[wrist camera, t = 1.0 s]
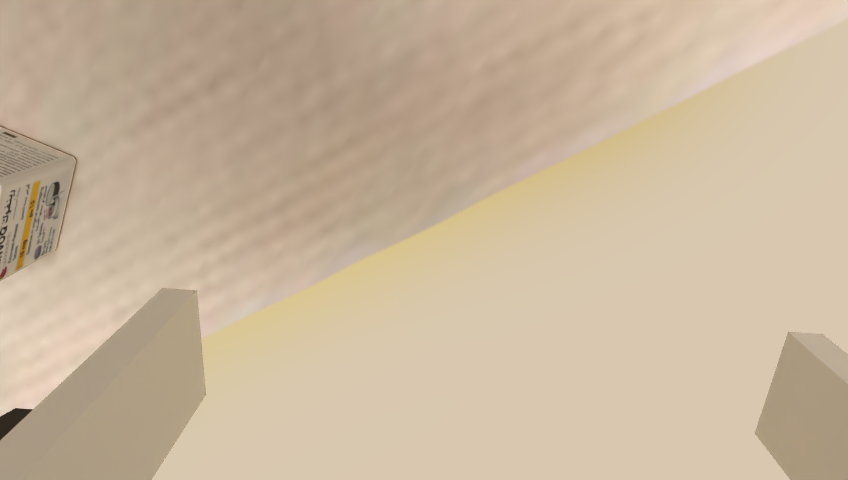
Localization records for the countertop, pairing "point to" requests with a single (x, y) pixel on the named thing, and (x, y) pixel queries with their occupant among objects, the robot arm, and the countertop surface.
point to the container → (30, 199)
